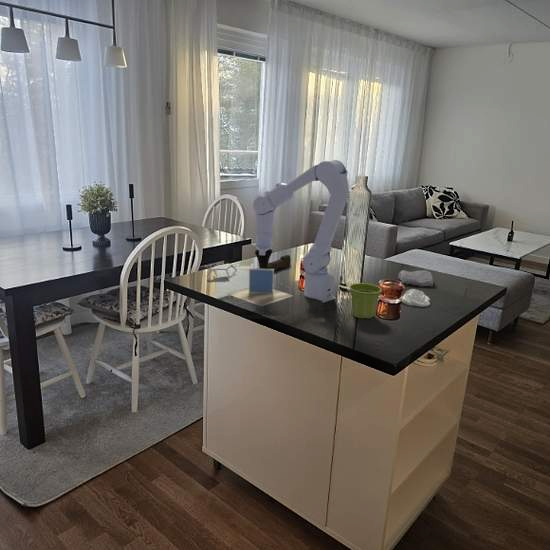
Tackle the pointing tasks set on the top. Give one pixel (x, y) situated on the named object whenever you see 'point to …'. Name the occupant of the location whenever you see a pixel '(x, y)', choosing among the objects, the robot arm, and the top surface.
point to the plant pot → (364, 299)
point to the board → (259, 296)
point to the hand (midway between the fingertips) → (263, 270)
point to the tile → (261, 280)
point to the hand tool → (280, 263)
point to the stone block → (416, 278)
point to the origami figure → (221, 267)
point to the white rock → (415, 298)
